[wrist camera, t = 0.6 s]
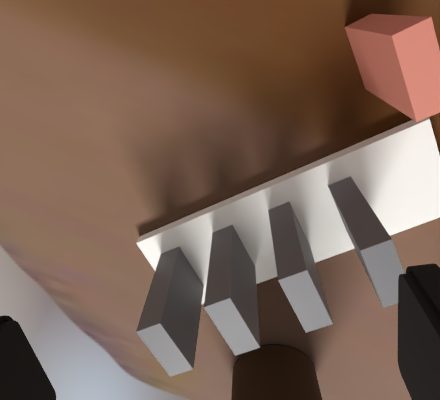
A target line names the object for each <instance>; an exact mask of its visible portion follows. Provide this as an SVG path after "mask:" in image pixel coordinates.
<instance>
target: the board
mask: <svg viewBox="0 0 440 400" xmlns="http://www.w3.org/2000/svg"><path fill="white" fill-rule="evenodd" d="M350 176H351V178H352V179H353V181H354V182H355V184H356V185H357V187H358V188H359V190H360V191H361V193H362V194H363V196H364V197H365V199H366V200H367V202H368V204H369V205H370V207H371V208H372V210H373V211H374V213H375V214H376V216H377V217H378V219H379V220H380V222H381V223H382V225H383V226H384V228H385V229H386V231H387V233H388V234H389V236H390V235H393V234H395V233H398V232H401V231H404V230H406V229H409V228H412V227H415V226H417V225H420V224H423V223H426V222H428V221H431V220H434V219H437V218H439V217H440V155H439V151H438V147H437V144H436V140H435V137H434V133H433V129H432V126H431V122H430V119H429V118H425V119H423V120H421V121H418V122H416V121H414V120H411V121H408V122H406V123H404V124H401V125H399V126H397V127H394V128H392V129H390V130H387V131H385V132H383V133H380V134H378V135H376V136H373V137H371V138H369V139H366V140H364V141H362V142H359V143H357V144H355V145H352V146H350V147H348V148H345V149H343V150H341V151H338V152H336V153H334V154H331V155H329V156H327V157H324V158H322V159H320V160H317V161H315V162H312V163H310V164H308V165H305V166H303V167H301V168H298V169H296V170H294V171H291V172H289V173H287V174H284V175H282V176H280V177H277V178H275V179H273V180H270V181H268V182H266V183H263V184H261V185H259V186H256V187H254V188H252V189H249V190H247V191H245V192H242V193H240V194H238V195H235V196H233V197H231V198H228V199H226V200H224V201H221V202H219V203H217V204H214V205H212V206H210V207H207V208H205V209H202V210H200V211H198V212H195V213H193V214H191V215H188V216H186V217H184V218H181V219H179V220H177V221H174V222H172V223H170V224H167V225H165V226H163V227H160V228H158V229H156V230H153V231H151V232H149V233H146V234H144V235H142V236H139V238H138V241H137V245H138V246H139V248H140V249H141V251H142V252H143V254H144V255H145V257H146V258H147V260H148V261H149V263H150V264H151V266H152V267H153V268H154V270H155V271H156V267H157V264H158V261H159V258H160V255H161V254H162V253H164V252H167V251H169V250H171V249H174V248H176V247H180V248H181V250H182V252H183V253H184V255H185V256H186V258H187V260H188V261H189V263H190V264H191V266H192V267H193V269H194V271H195V272H196V274H197V275H198V277H199V279H200V280H201V282H202V283H203V285H204V288H203V296H202V304H204V302H205V293H206V285H207V276H208V268H209V259H210V251H211V242H212V233H213V232H215V231H218V230H220V229H223V228H225V227H228V226H230V225H233V227H234V229H235V230H236V232H237V234H238V236H239V238H240V239H241V241H242V243H243V245H244V247H245V249H246V250H247V252H248V254H249V256H250V258H251V260H252V261H253V263H254V265H255V272H256V284H258V283H261V282H264V281H267V280H269V279H272V278H275V277H278V276H277V269H276V262H275V255H274V248H273V241H272V234H271V227H270V220H269V213H268V210H269V209H272V208H274V207H277V206H279V205H281V204H284V203H286V202H290V204H291V206H292V208H293V210H294V212H295V215H296V217H297V219H298V221H299V223H300V225H301V227H302V230H303V232H304V234H305V236H306V238H307V240H308V242H309V245H310V247H311V251H312V254H313V258H314V261H315V263H316V262H319V261H321V260H324V259H327V258H330V257H332V256H335V255H338V254H341V253H343V252H346V251H349V250H352V249H354V246H353V243H352V241H351V239H350V237H349V235H348V233H347V231H346V228H345V226H344V224H343V221H342V219H341V216H340V214H339V211H338V209H337V207H336V204H335V202H334V199H333V197H332V195H331V192H330V190H329V187H328V185H330V184H333V183H335V182H338V181H340V180H342V179H345V178H347V177H350Z"/></svg>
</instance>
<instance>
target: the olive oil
mask: <svg viewBox="0 0 440 400" xmlns="http://www.w3.org/2000/svg"><path fill="white" fill-rule="evenodd" d="M232 400H322V397H321V393H320V389H319V384H318V380H317V376H316V372H315V369H314V366H313V364H312V362H311V361H310V359H309V358H308V357H307V356H306V355H305V354H303V353H302V352H300V351H298V350H296V349H294V348H291V347H288V346H282V345H266V346H261V347H260V348H258V349H254V350H251V351H248V352H247V353H245V354H244V355H243V356H242V357H240V359H239V360H238V361H237V363H236V364H235V367H234V370H233V380H232Z"/></svg>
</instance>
